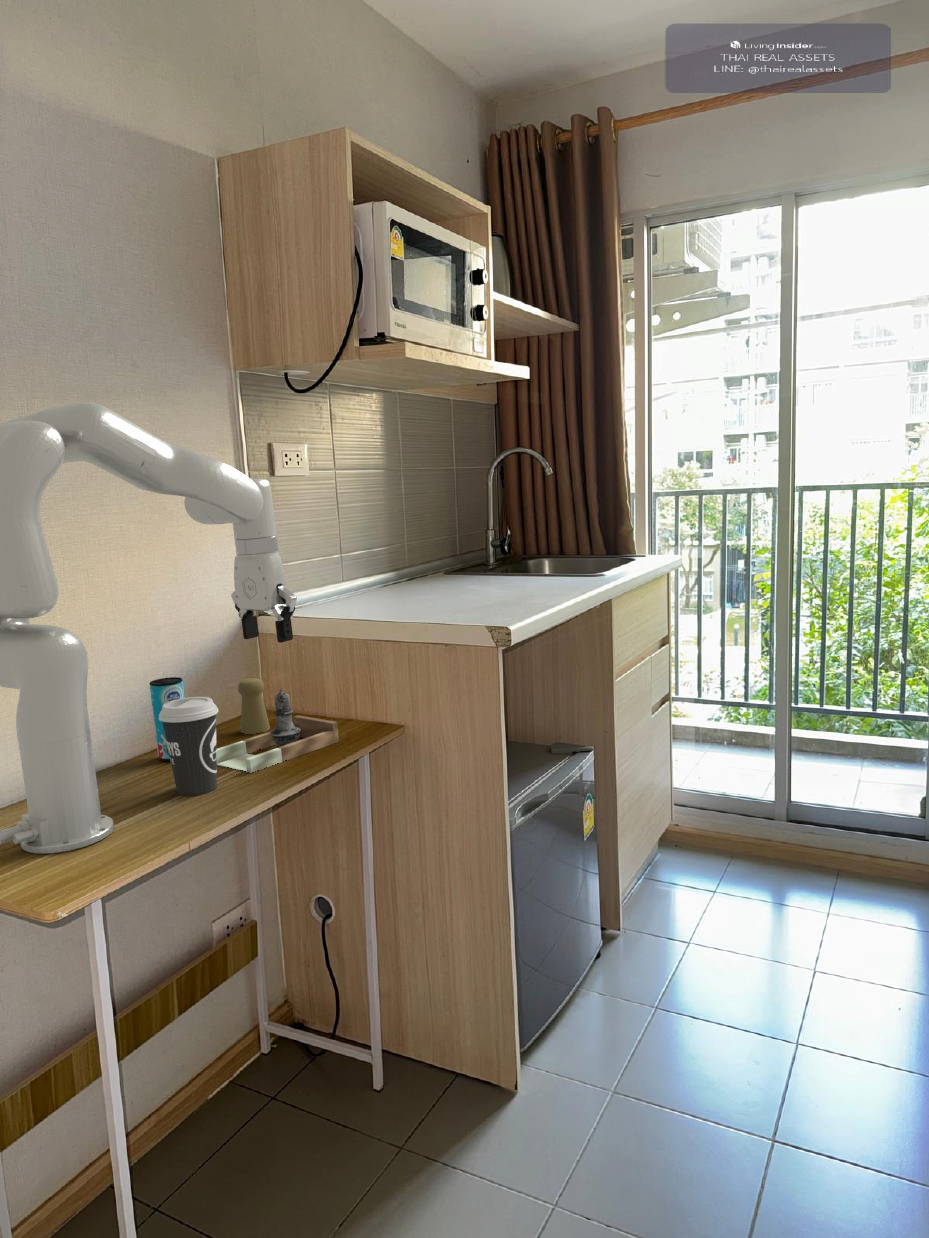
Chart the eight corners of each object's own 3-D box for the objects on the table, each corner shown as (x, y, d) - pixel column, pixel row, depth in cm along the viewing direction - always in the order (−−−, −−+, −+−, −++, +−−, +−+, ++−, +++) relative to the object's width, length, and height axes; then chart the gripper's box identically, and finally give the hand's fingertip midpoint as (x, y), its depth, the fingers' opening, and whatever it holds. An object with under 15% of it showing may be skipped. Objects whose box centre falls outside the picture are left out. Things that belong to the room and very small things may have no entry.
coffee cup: (199, 776, 154) (189, 693, 152) (238, 783, 149) (229, 697, 147) (155, 794, 146) (144, 707, 144) (195, 802, 141) (184, 711, 139)
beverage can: (166, 764, 163) (156, 685, 161) (153, 758, 167) (144, 681, 165) (196, 756, 167) (187, 679, 164) (183, 750, 171) (174, 675, 169)
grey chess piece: (306, 744, 170) (300, 684, 169) (297, 753, 165) (291, 691, 163) (276, 745, 171) (271, 685, 169) (267, 754, 165) (261, 692, 163)
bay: (251, 773, 154) (249, 751, 154) (212, 763, 161) (209, 742, 161) (338, 741, 171) (337, 721, 170) (299, 734, 178) (297, 715, 177)
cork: (239, 729, 185) (234, 678, 183) (268, 725, 187) (263, 674, 185) (241, 736, 179) (236, 683, 178) (271, 732, 181) (266, 680, 179)
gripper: (210, 550, 162) (222, 640, 165) (271, 550, 151) (283, 646, 154) (243, 545, 167) (254, 632, 170) (304, 544, 157) (315, 638, 160)
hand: (268, 639), depth 162 cm, fingers open, 9 cm apart
